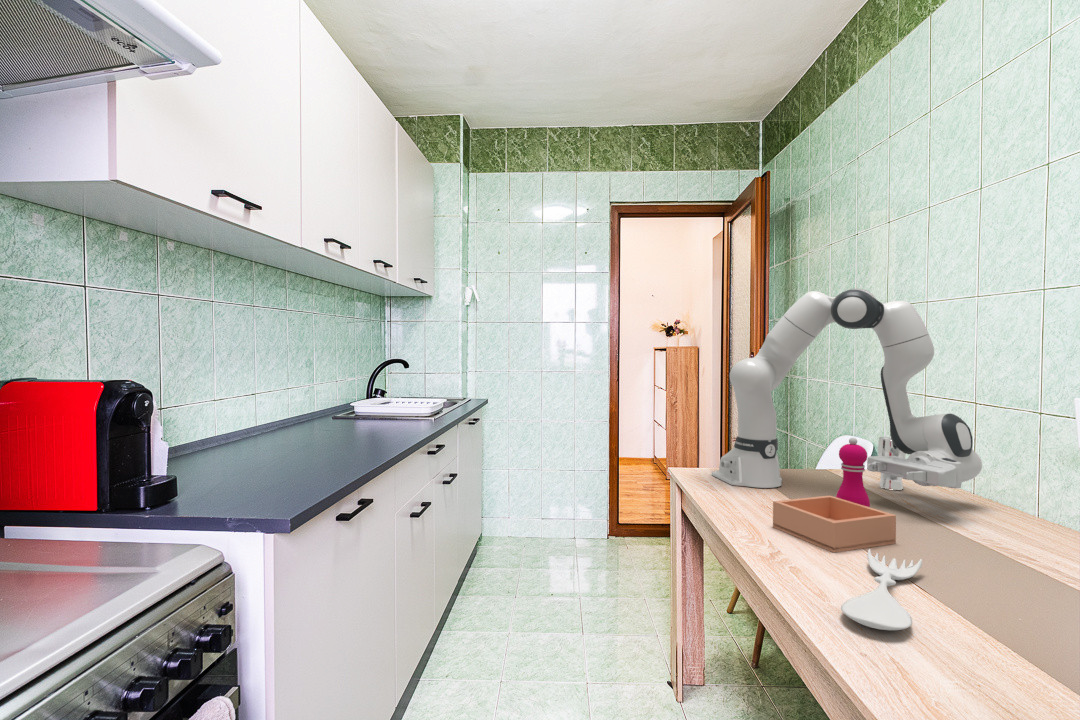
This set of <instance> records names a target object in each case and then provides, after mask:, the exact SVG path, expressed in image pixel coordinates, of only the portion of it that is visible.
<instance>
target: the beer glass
mask: <svg viewBox="0 0 1080 720" xmlns="http://www.w3.org/2000/svg"><path fill="white" fill-rule="evenodd" d="M906 455H907V454H906V453H904V452H902V451H901V450H899V449H898V448H897V447H896V446H895V445H894V444H893V442H892V440H891V436H880V437H878V444H877V456H892V457H897V458H903V459H906ZM878 486H880V487H882V488H886V489H893V490H902V489H903V490H904V486H903V478H902V477H898V476H893V475H889V474H885V473H880V481H879V485H878ZM880 487H879V488H880ZM882 488H881V489H882ZM903 490H902V491H903Z"/></svg>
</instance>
